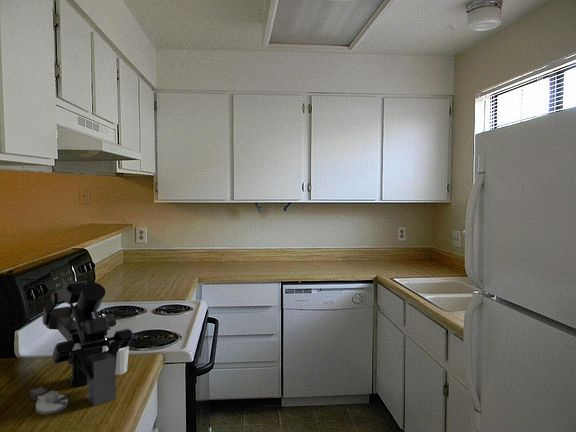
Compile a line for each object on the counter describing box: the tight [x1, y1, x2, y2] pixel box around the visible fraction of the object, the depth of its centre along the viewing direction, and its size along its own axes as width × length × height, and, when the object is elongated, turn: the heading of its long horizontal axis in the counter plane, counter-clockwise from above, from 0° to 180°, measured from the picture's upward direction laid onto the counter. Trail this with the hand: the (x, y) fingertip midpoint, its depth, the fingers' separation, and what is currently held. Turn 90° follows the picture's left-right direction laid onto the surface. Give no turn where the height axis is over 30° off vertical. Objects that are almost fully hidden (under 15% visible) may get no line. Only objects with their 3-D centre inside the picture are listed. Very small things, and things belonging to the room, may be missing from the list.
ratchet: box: [29, 386, 69, 415], centre depth 108 cm, size 13×7×4 cm, turn 50°
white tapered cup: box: [103, 346, 130, 376], centre depth 127 cm, size 7×7×7 cm
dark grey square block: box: [86, 351, 117, 407], centre depth 110 cm, size 5×5×11 cm
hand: (102, 375), depth 109 cm, fingers open, 5 cm apart
